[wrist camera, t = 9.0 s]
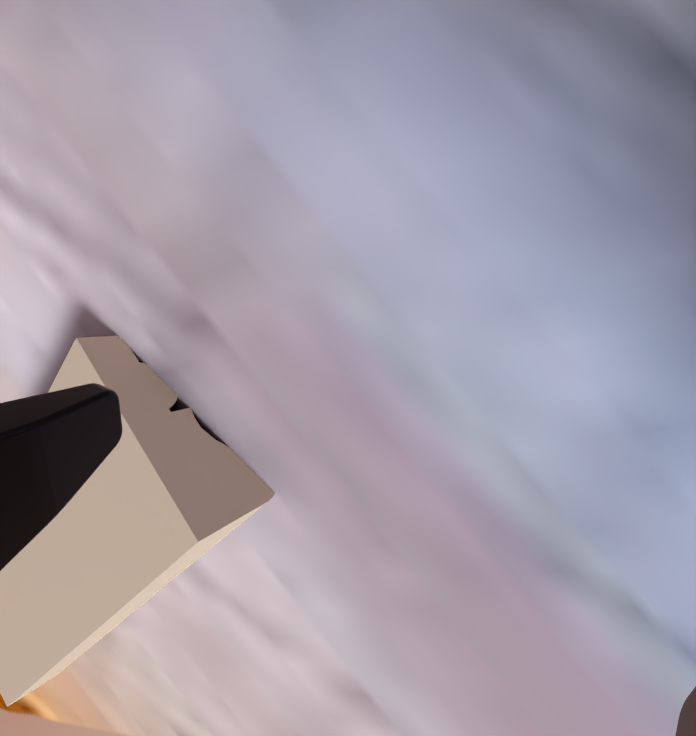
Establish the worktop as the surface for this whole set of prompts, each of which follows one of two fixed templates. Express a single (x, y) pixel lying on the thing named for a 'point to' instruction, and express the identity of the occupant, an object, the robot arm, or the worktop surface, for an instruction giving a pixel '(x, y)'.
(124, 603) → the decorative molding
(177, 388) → the worktop surface
